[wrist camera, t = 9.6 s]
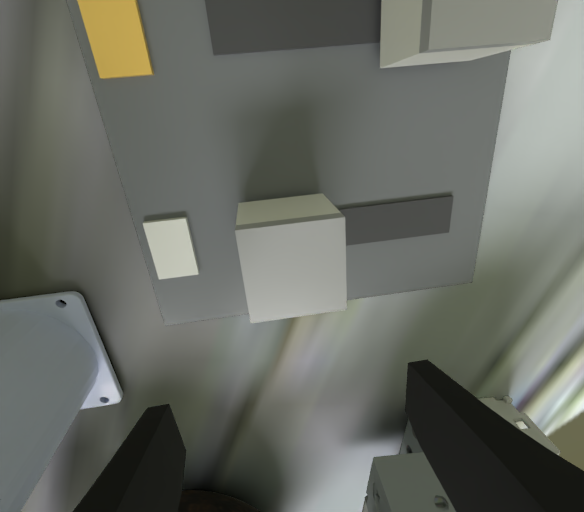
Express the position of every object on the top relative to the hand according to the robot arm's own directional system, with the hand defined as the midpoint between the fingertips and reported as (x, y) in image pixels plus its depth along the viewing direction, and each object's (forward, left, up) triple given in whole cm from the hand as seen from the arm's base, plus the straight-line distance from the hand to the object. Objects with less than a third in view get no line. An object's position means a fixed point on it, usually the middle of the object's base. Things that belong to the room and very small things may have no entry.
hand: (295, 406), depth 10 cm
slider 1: (+1, +3, -8) cm, 8 cm away
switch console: (+3, +7, -9) cm, 12 cm away
